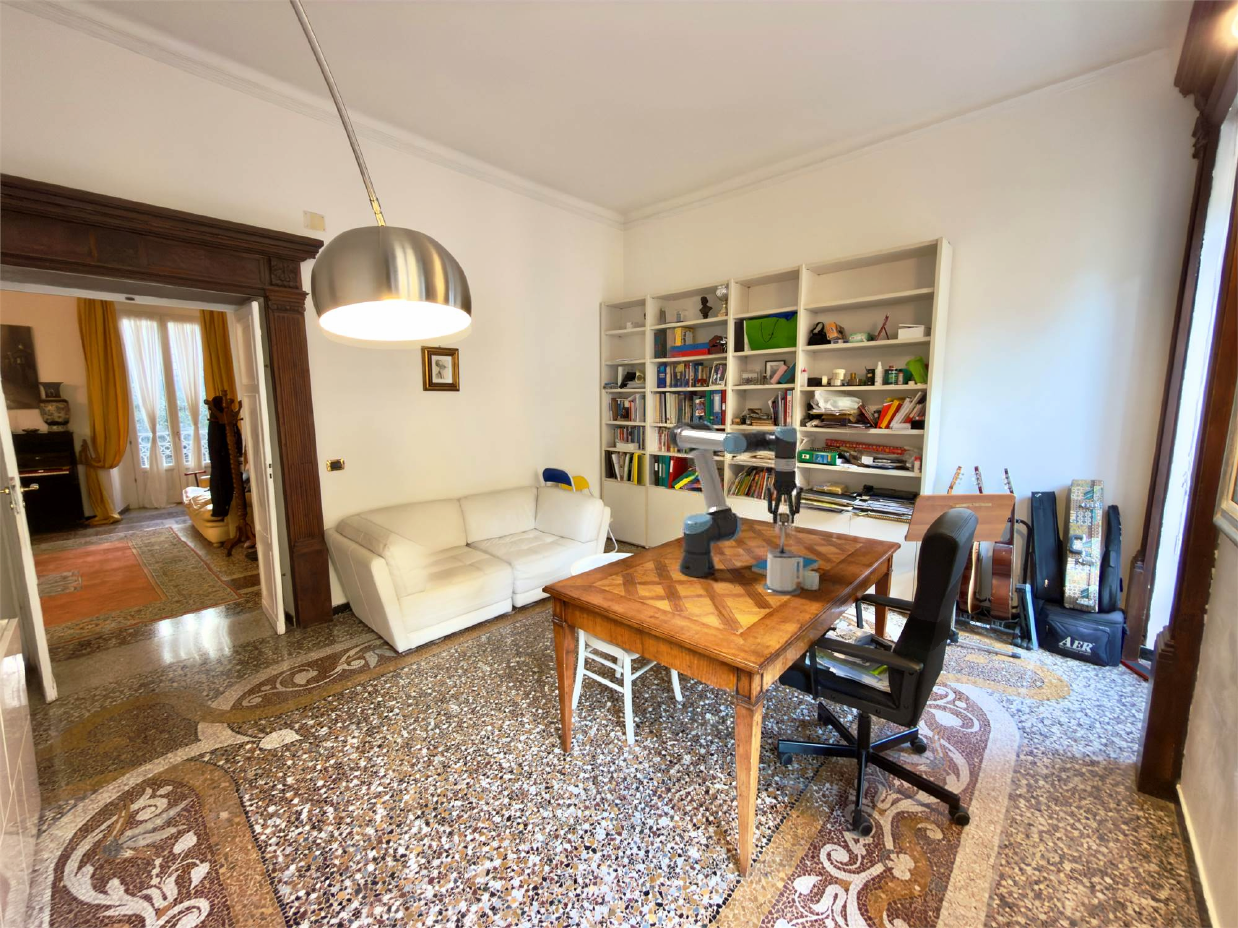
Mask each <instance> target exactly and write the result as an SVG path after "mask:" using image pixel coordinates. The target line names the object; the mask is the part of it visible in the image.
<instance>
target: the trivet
mask: <svg viewBox="0 0 1238 928" xmlns="http://www.w3.org/2000/svg"><path fill="white" fill-rule="evenodd" d="M761 588H762V590H764V591H765V592H767V593H770V594H773V595H778V596H795V595H799V594H800V593H801V591H802V589H801V588H802V587H800V586H798V585H797V584H796V591H794V592H792V593H777V592H774V591H771V590H769V589H768V588H767V581H765V582H763V583H762V584H761Z"/></svg>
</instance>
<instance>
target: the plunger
mask: <svg viewBox="0 0 1238 928" xmlns="http://www.w3.org/2000/svg"><path fill="white" fill-rule="evenodd" d="M789 514H790V513H788V512H778V515H779V516H780V523H781V524H780V525H781V526H780V529H781V530H780V531H781V532H780V549H781V554H784V549H785V538H786V537H785V535H786V534H785V532H786V530H785V529H786V528H785V527H786V524H787V523H788V521H789Z"/></svg>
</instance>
